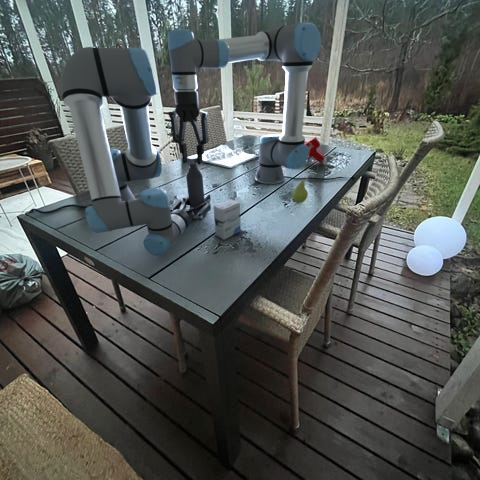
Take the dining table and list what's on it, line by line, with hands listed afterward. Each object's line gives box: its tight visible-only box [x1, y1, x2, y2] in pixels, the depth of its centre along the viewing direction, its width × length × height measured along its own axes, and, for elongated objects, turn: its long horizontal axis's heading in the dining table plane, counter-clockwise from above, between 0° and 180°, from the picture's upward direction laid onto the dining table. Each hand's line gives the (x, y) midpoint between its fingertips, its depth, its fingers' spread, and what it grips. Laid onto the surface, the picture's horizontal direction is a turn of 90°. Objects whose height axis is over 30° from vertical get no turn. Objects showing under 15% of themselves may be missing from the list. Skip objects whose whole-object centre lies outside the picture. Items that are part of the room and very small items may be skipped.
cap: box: [186, 155, 198, 165], centre depth 99 cm, size 4×4×2 cm
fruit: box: [291, 174, 311, 204], centre depth 118 cm, size 7×8×12 cm
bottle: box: [185, 163, 207, 220], centre depth 105 cm, size 6×6×23 cm
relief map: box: [192, 143, 257, 169], centre depth 179 cm, size 27×35×5 cm
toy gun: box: [304, 136, 326, 164], centre depth 169 cm, size 18×4×15 cm
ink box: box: [213, 198, 242, 240], centre depth 96 cm, size 8×5×12 cm, turn 135°
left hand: (201, 196), depth 112 cm, fingers closed on bottle, 6 cm apart
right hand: (192, 162), depth 99 cm, fingers open, 5 cm apart
